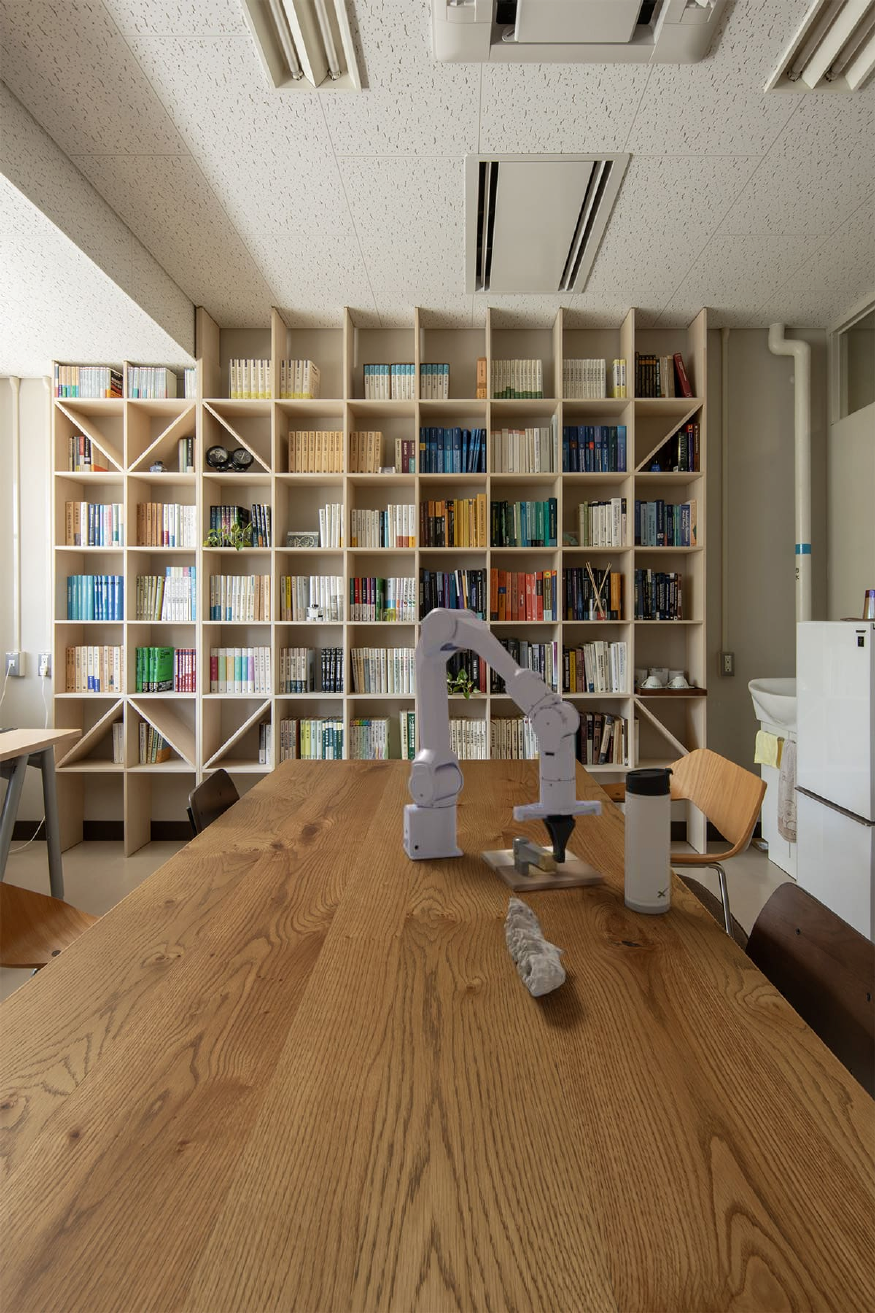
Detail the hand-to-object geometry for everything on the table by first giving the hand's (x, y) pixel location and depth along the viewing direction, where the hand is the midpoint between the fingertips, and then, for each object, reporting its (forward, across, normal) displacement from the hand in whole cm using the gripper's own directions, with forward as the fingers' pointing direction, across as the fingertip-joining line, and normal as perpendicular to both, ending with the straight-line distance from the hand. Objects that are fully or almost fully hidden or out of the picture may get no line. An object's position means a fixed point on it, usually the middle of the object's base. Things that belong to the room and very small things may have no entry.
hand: (558, 861), depth 113 cm
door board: (+2, -2, +4) cm, 5 cm away
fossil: (+3, -15, -28) cm, 32 cm away
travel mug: (+3, +8, -14) cm, 17 cm away
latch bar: (+1, -3, +5) cm, 5 cm away
